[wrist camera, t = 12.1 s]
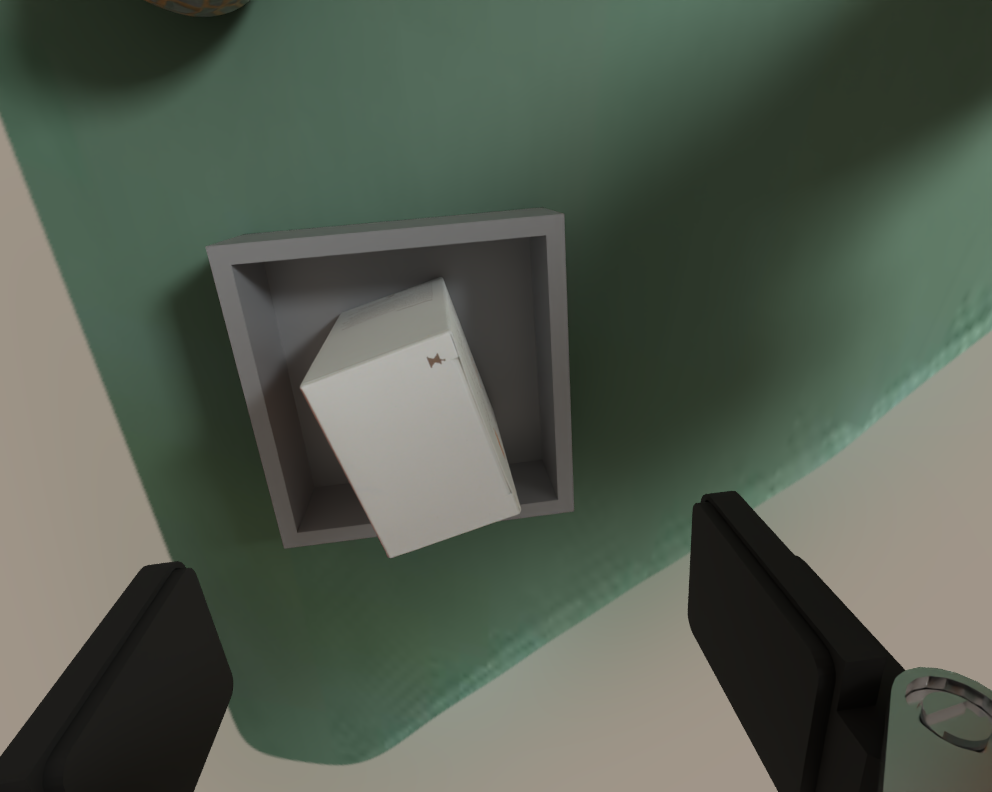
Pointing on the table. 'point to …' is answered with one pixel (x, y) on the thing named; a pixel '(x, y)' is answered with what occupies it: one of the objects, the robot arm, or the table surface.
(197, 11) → the vase
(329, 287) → the bin
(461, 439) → the small box
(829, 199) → the table surface
